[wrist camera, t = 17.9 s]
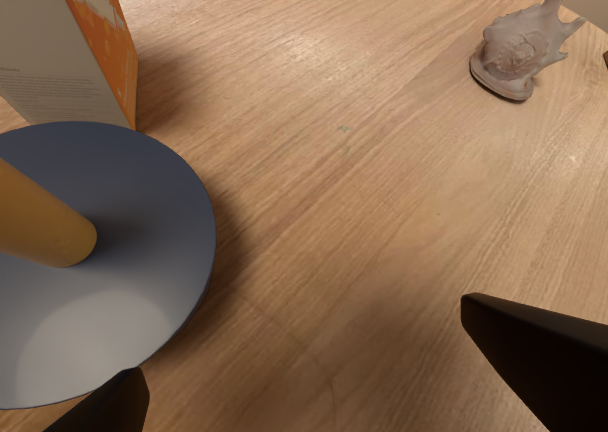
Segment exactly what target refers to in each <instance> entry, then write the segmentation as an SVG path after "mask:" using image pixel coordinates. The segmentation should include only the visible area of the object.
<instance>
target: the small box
mask: <svg viewBox="0 0 608 432" xmlns="http://www.w3.org/2000/svg"><path fill="white" fill-rule="evenodd" d="M138 63H139V58H138V55H137V52H136V50H135V47H134V44H133V41H132V38H131V35H130V32H129V30H128V27H127V24H126V21H125V18H124V16H123V12H122V10H121V7H120V4H119V1H118V0H0V95H1V96H2V97H3V98H4V99H5V100H6V101H7V102H8V103H9V104H10V105H11V106H12V107H13V108H14V109H15V110H16V111H17V112H18V113H19V114H20V115H21V116H22V117H23V118H24V119H25V120H26V121H27V122H28V123H29V124H30V125H37V124H43V123H50V122H62V121H92V122H100V123H107V124H113V125H117V126H121V127H126V128H129V129H132V130H135V131H136V127H135V119H136V92H137V76H138Z"/></svg>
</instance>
